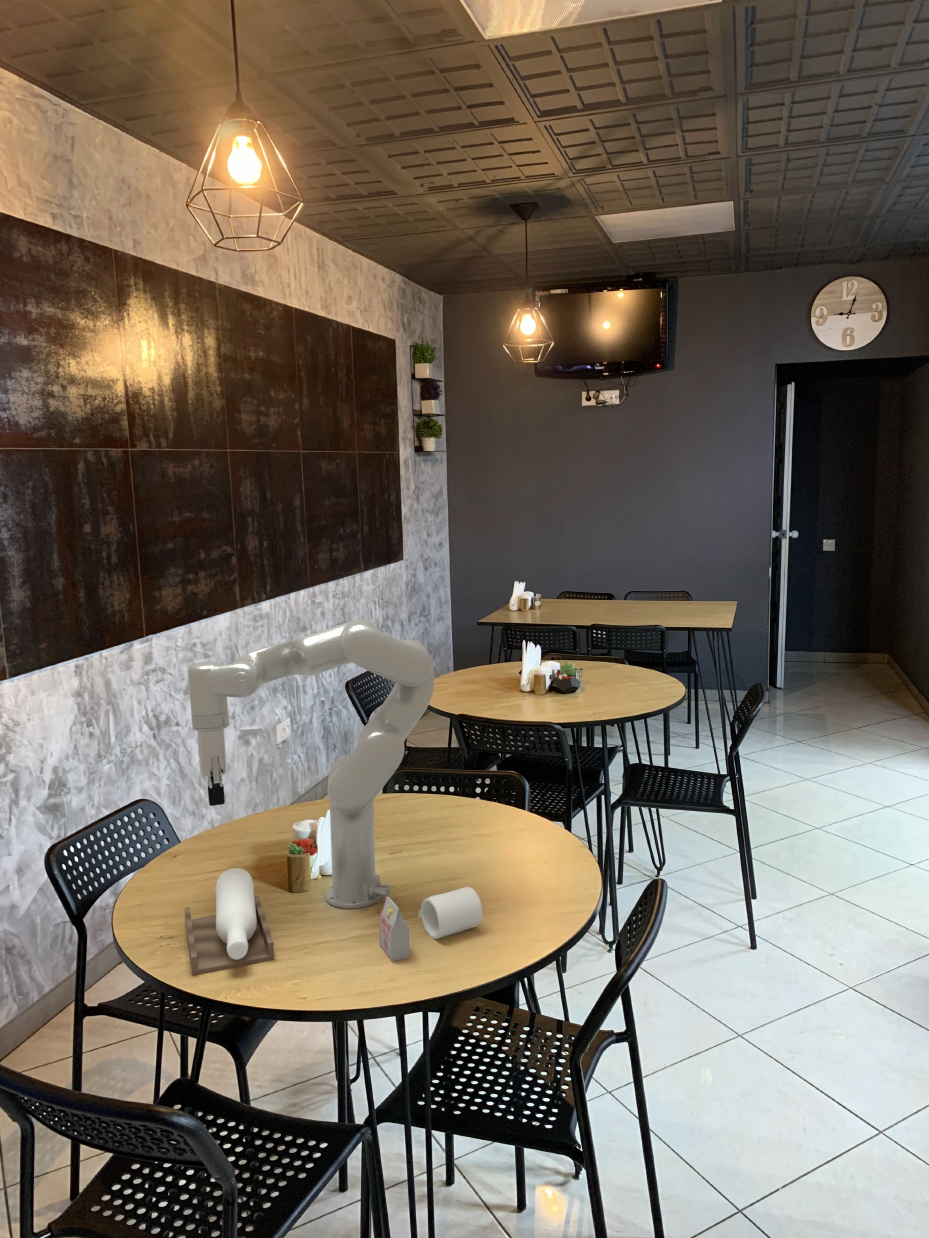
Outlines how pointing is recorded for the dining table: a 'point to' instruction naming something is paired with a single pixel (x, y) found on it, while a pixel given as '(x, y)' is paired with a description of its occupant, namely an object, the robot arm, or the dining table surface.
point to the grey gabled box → (393, 932)
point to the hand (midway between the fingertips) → (216, 803)
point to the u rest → (213, 951)
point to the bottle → (235, 911)
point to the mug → (451, 912)
